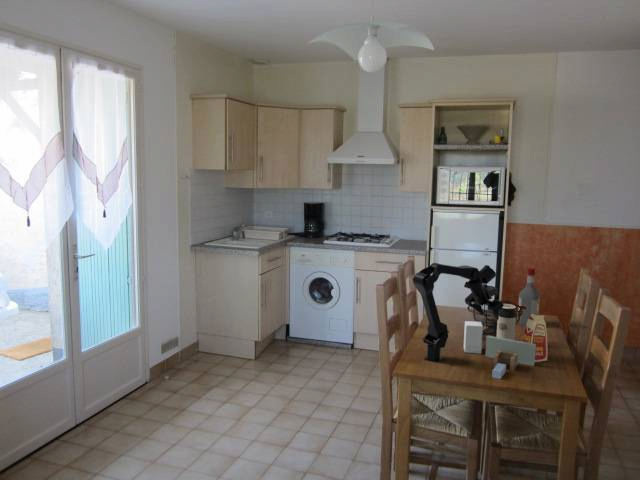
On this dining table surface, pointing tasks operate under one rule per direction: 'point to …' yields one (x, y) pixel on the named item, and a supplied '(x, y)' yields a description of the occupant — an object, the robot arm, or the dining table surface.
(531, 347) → the backstop board
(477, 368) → the dining table surface
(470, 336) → the supplement box
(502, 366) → the blue-gray block
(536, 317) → the milk carton
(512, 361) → the brown u-shaped bracket
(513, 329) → the travel mug
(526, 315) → the liquor
